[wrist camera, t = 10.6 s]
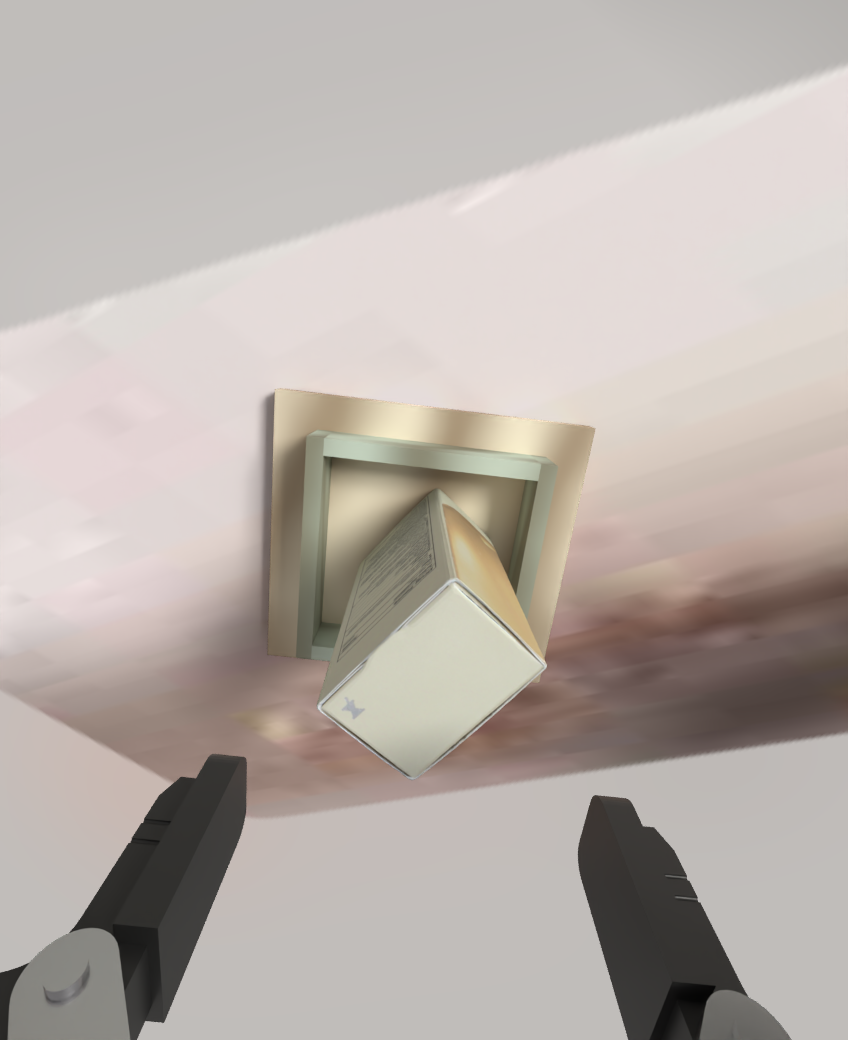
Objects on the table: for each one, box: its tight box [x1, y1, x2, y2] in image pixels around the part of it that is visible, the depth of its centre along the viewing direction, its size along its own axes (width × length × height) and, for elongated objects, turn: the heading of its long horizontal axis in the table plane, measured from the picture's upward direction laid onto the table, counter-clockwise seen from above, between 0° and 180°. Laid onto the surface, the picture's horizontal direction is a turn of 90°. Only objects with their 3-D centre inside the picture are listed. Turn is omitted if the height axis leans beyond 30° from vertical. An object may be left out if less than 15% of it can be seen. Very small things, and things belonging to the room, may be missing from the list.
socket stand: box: [267, 388, 595, 683], centre depth 26 cm, size 16×15×4 cm
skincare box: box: [317, 489, 547, 780], centre depth 21 cm, size 6×4×12 cm
